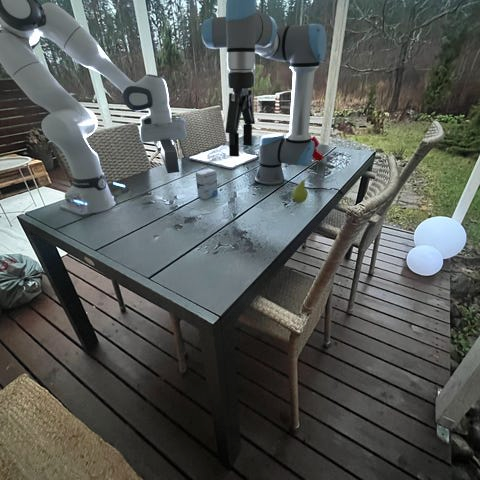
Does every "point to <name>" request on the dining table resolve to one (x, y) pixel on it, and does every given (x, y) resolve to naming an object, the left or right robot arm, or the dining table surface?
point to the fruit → (300, 192)
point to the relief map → (223, 157)
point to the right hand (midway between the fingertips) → (241, 150)
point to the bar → (169, 156)
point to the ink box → (206, 183)
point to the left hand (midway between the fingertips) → (166, 150)
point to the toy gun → (316, 153)
